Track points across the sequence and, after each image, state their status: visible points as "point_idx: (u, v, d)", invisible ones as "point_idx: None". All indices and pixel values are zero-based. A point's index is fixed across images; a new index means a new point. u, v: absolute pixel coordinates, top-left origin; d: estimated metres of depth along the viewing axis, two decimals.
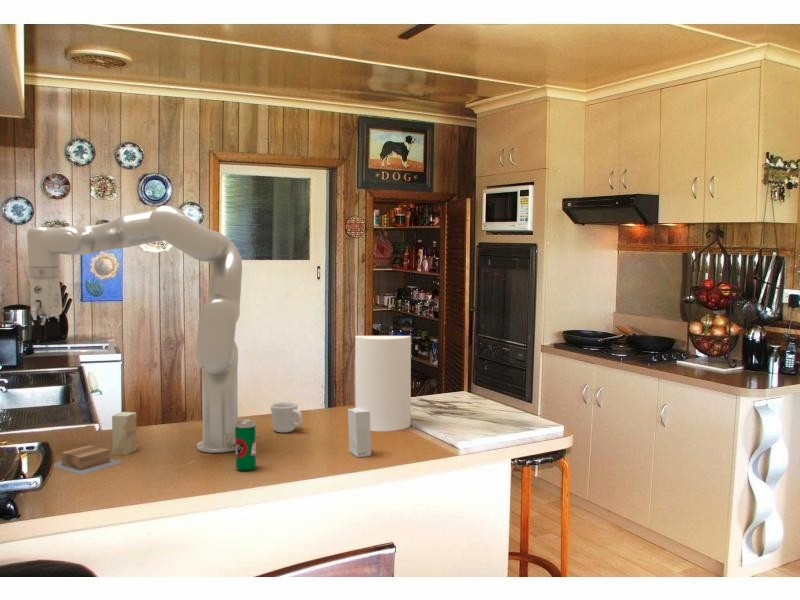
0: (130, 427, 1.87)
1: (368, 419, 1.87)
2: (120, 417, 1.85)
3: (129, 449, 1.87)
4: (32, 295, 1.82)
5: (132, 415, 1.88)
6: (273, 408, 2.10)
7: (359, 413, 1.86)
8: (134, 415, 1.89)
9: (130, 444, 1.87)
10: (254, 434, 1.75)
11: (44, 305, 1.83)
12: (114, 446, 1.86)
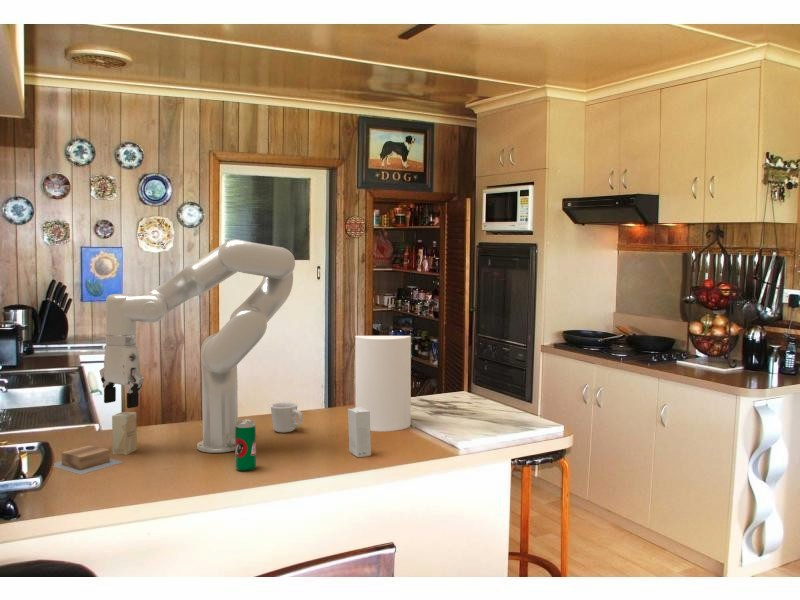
0: (130, 427, 1.87)
1: (368, 419, 1.87)
2: (120, 417, 1.85)
3: (129, 449, 1.87)
4: (127, 363, 1.83)
5: (132, 415, 1.88)
6: (273, 408, 2.10)
7: (359, 413, 1.86)
8: (134, 415, 1.89)
9: (130, 444, 1.87)
10: (254, 434, 1.75)
11: (138, 372, 1.85)
12: (114, 446, 1.86)
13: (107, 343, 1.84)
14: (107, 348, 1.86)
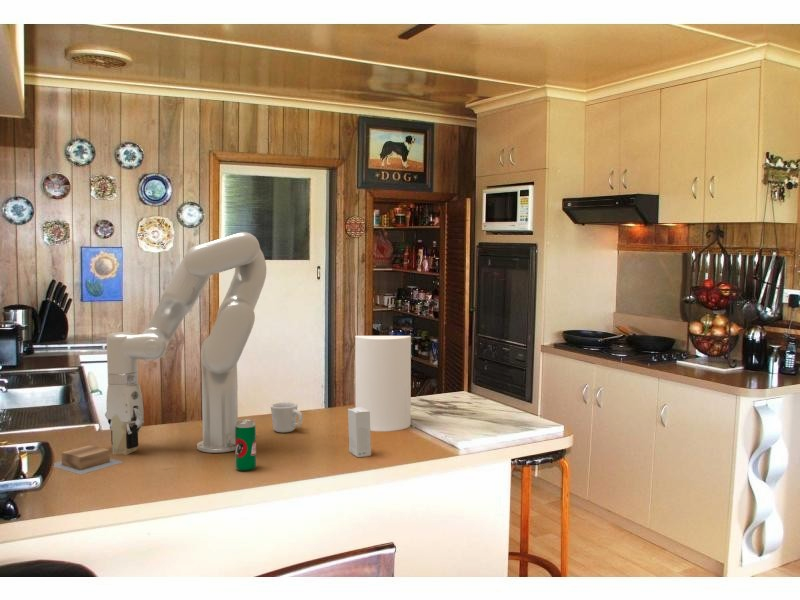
0: None
1: (368, 419, 1.87)
2: None
3: (129, 449, 1.87)
4: (130, 402, 1.84)
5: None
6: (273, 408, 2.10)
7: (359, 413, 1.86)
8: None
9: None
10: (254, 434, 1.75)
11: (140, 409, 1.86)
12: (114, 446, 1.86)
13: (109, 382, 1.84)
14: (109, 386, 1.87)
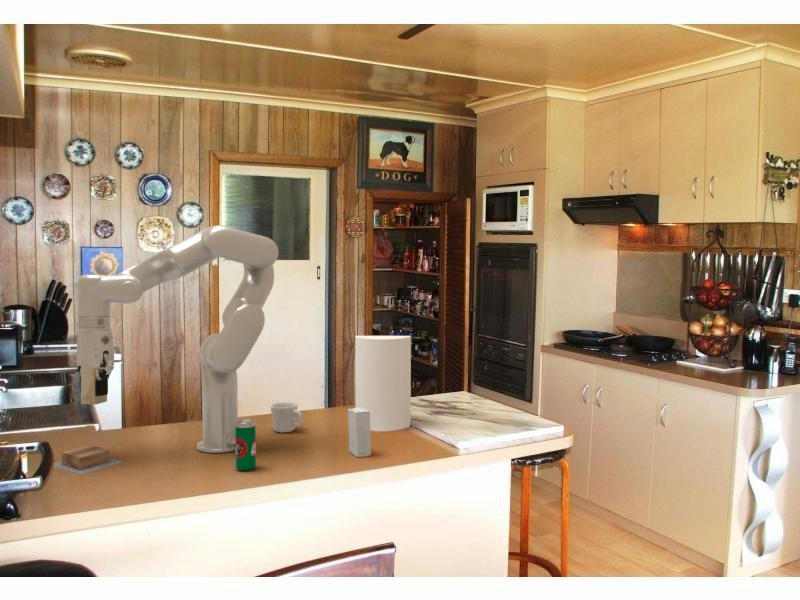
0: None
1: (368, 419, 1.87)
2: None
3: (99, 397, 1.79)
4: (99, 346, 1.75)
5: None
6: (273, 408, 2.10)
7: (359, 413, 1.86)
8: None
9: None
10: (254, 434, 1.75)
11: (111, 355, 1.78)
12: (82, 393, 1.78)
13: (79, 325, 1.76)
14: (80, 330, 1.79)
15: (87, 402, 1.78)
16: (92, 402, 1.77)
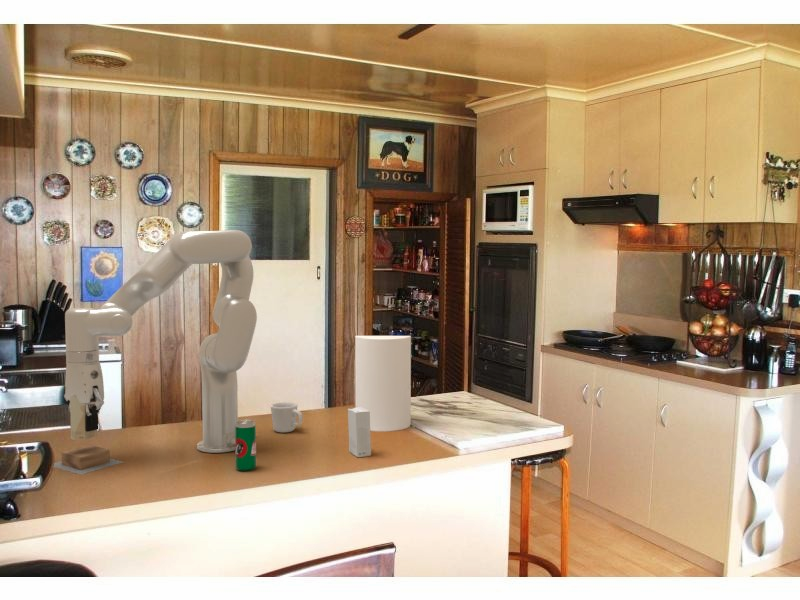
0: (90, 408, 1.76)
1: (368, 419, 1.87)
2: None
3: (89, 432, 1.76)
4: (89, 381, 1.73)
5: None
6: (273, 408, 2.10)
7: (359, 413, 1.86)
8: None
9: None
10: (254, 434, 1.75)
11: (101, 390, 1.75)
12: (72, 428, 1.75)
13: (67, 360, 1.73)
14: (68, 365, 1.76)
15: (77, 438, 1.75)
16: (82, 438, 1.75)
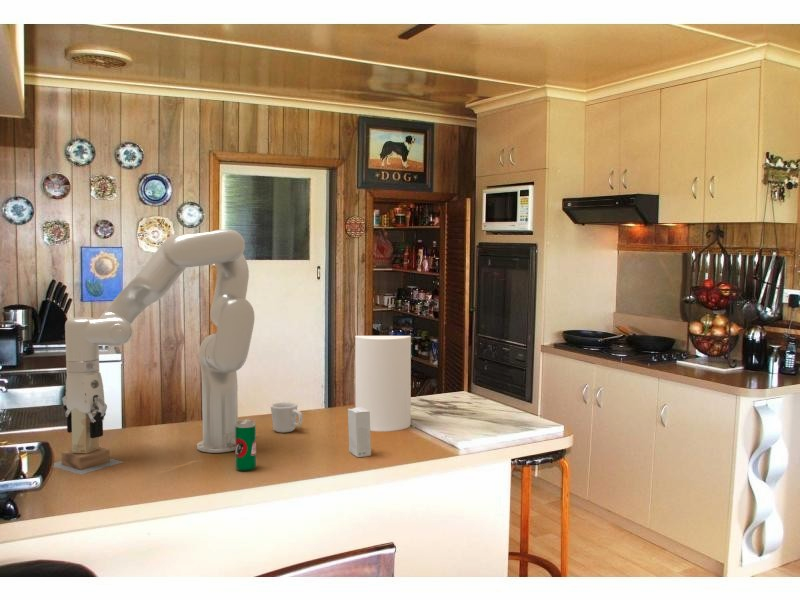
0: None
1: (368, 419, 1.87)
2: None
3: (90, 445, 1.76)
4: (89, 391, 1.73)
5: None
6: (273, 408, 2.10)
7: (359, 413, 1.86)
8: None
9: (90, 440, 1.76)
10: (254, 434, 1.75)
11: (101, 399, 1.75)
12: (73, 442, 1.76)
13: (67, 370, 1.74)
14: (68, 375, 1.76)
15: (78, 451, 1.75)
16: (83, 451, 1.75)
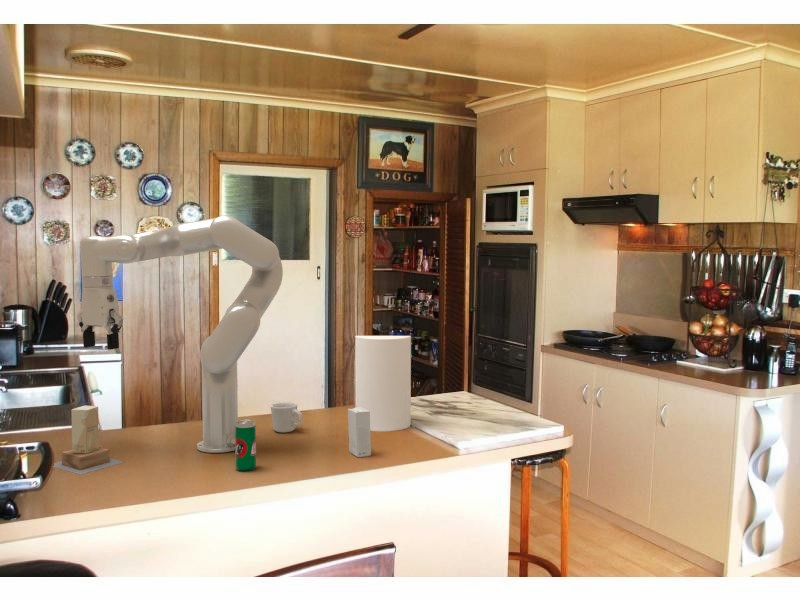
0: (91, 422, 1.77)
1: (368, 419, 1.87)
2: (80, 411, 1.75)
3: (90, 445, 1.76)
4: (105, 304, 1.82)
5: (93, 409, 1.77)
6: (273, 408, 2.10)
7: (359, 413, 1.86)
8: (96, 409, 1.78)
9: (90, 440, 1.76)
10: (254, 434, 1.75)
11: None
12: (73, 442, 1.76)
13: (84, 285, 1.83)
14: (84, 291, 1.85)
15: (78, 451, 1.75)
16: (83, 451, 1.75)
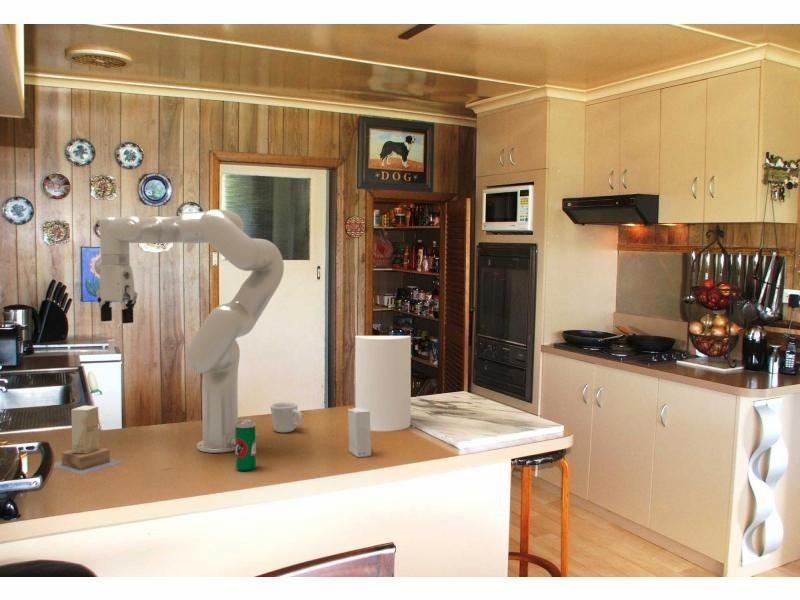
0: (91, 422, 1.77)
1: (368, 419, 1.87)
2: (80, 411, 1.75)
3: (90, 445, 1.76)
4: (121, 281, 1.94)
5: (93, 409, 1.77)
6: (273, 408, 2.10)
7: (359, 413, 1.86)
8: (95, 409, 1.78)
9: (90, 440, 1.76)
10: (254, 434, 1.75)
11: None
12: (73, 442, 1.76)
13: (102, 262, 1.95)
14: (102, 268, 1.97)
15: (78, 451, 1.75)
16: (83, 451, 1.75)
